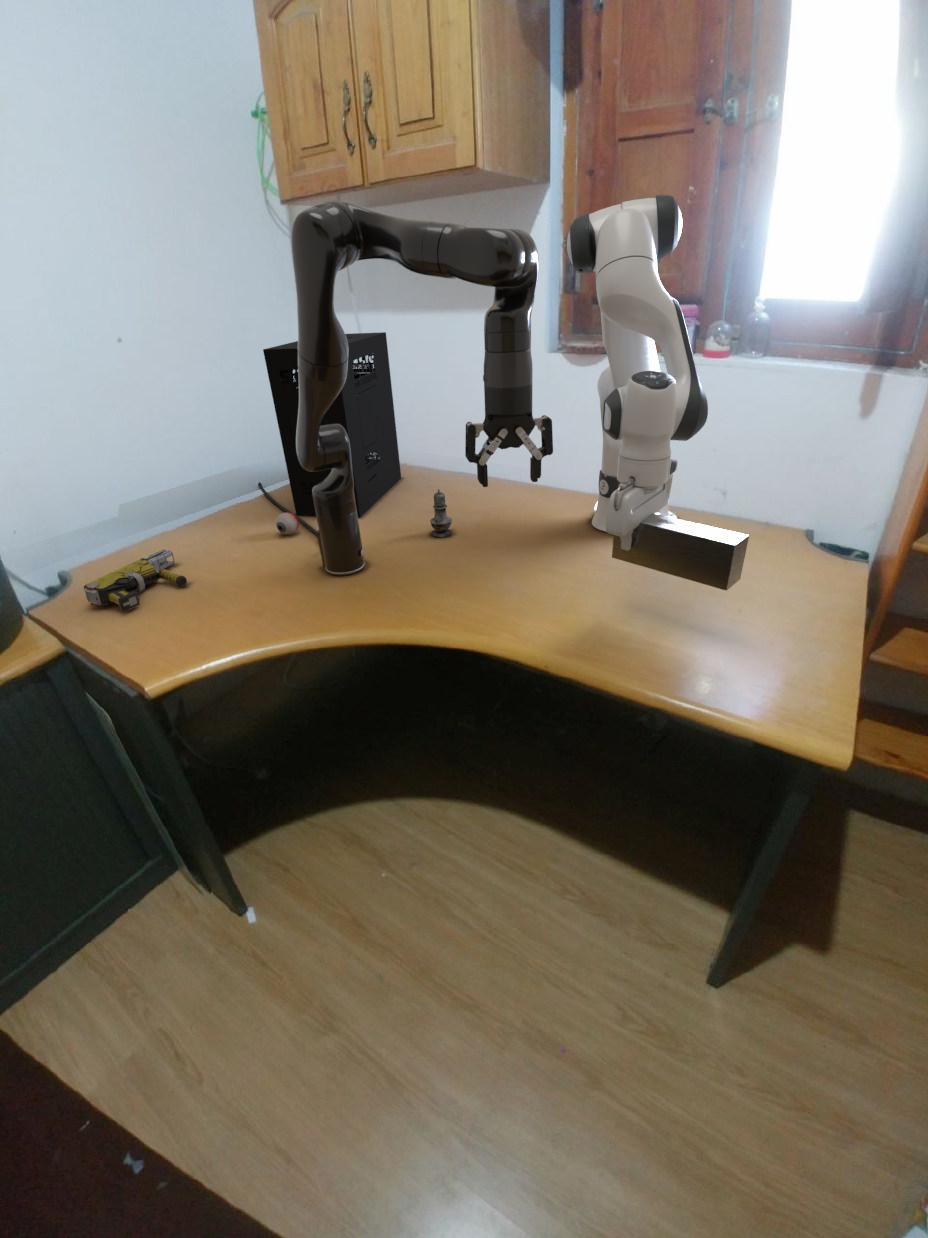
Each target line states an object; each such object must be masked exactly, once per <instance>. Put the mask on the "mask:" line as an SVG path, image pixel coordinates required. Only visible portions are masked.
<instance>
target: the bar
mask: <svg viewBox="0 0 928 1238" xmlns="http://www.w3.org/2000/svg"><path fill="white" fill-rule="evenodd" d="M631 536H632V539H633V547H632V548H631V549H630V550H628V551H627V550H623V549H621V538H620V536H616V535H613V538H612V539H613V540H612V551H611V558H612V559H614V560H618V561H623V562H626V563H628V564H633V565H636V566H639V567H644V568H647V569H650V570H653V571H657V572H661V573H664V574H667V575H671V576H674V577H677V578H681V579H684V580H689V581H691V582H695V583H698V584H701V585H706V586H708V587H712V588H716V589H718V590H722V591H726V592H727V591H728V590H729V589H731V587H733V586H734V585H736V584H737V583H738V582H739V581H741V577H742V573H743V568H744V563H745V557H746V554H747V548H748V543H749V539H750V535H749V534H745V533H742V532H737V531H733V530H727V529H723V528H721V527H720V528H718V527H715V526H710V525H707V524H702V523H698V522H694V521H693V522H692V521H689V520H684V519H679V518H677V519H675V518H671V517H667V516H662V515H658V514H652V515H650V516H649V517H647V518H646V519H645V520H643V521H642V522H640V525H639V526H637V527H636V528H635V529H633V533H632V534H631Z"/></svg>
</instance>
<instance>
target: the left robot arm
mask: <svg viewBox="0 0 928 1238" xmlns="http://www.w3.org/2000/svg"><path fill="white" fill-rule="evenodd" d="M290 233H291V234H290V242H291V243H290V244H291V255H292V257H291V258H292V265H293V274H294V283H295V292H296V311H297V313H296V315H297V341H298V370H297V372H298V380H299V407H298V418H297V429H296V451H297V456H298V460H299V463H300V465H301V466H302V468H303V469H305V470H306V471H309V472H317V471H322V470H327V469H332V470H331V472H330V473H329V475H328V476H327V477H326V478H325V479H323V480H322V481H321V482H319V483H318V484H316V485H315V486H314V487H313V489H312V495H313V501H314V506H315V511H316V516H315V517H316V521H317V527H318V529H317V530H316V529H315V528H314V527H312V526H311V525H310V524H309V523H307V521H304V520H303V519H302V518H300V517H299V515H296V513H295V514H294V512H292V511H290V510H289V509H287V508H286V507H285V506H283V505H281V504H280V503H279V501H277V500H275V499H274V498H273V497H272V496H271V495H270V494H269V493H268V492H267V490H265V488H264V487H263V484H262V482H258V483H257V486H258V487H259V490H260V491H261V492H262V493H263V495H264V496H265V497H266V498H267V499H268V500H269V501H270V502H272V504H274V505H275V506H276V507H277V508H279V509H280V510H282V511H283V512H284V513H285V512H288V513H292V514H294V515H295V516H296V517H297V519H298V521H299V524H302V525H303V526H304V527H305V528H307V529H308V530H309V531H310V532H312V534H314V535H315V536H316V537H317V542H318V546H319V553H320V558H321V563H322V568H323V569H325V571H326V573H327V574H330V575H333V576H347V575H352V574H356V573H358V572H360V571H362V570H363V569H365V566H366V562H365V561H366V560H365V557H364V554H365V545H363V544H362V543H363V541H362V538H361V537H362V536H361V530H360V523H359V517H358V515H357V509H356V502H355V495H354V478H353V470H352V459H351V449H350V442H349V438H348V435H347V432H346V430H345V429H344V427H343V426H342V425H341V424H339V423H331V424H325V425H321V421H322V419H323V417H324V415H325V413H326V412H327V410H328V409H329V407H330V406H331V404H332V403H333V402H334V400H335V399H336V398H337V396H338V395H339V393H340V392H341V390H342V388H343V386H344V384H345V382H346V379H347V371H348V356H349V348H348V341H347V338H346V335H345V334H346V332H345V331H344V328H343V326H342V325H341V322H340V321H339V319H338V316H337V314H336V311H335V286H336V285H335V284H336V279H337V278H336V277H337V274H338V272H340V271H342V270H343V269H346V268H349V267H350V266H352V265H353V264H355V263H356V262H358V261H364V260H375V259H376V260H377V259H378V260H379V259H380V260H387V261H391V262H394V263H396V264H397V265H399V266H401V267H403V268H404V269H405V270H408V271H409V272H411V273H414V274H417V275H421V276H426V277H433V278H440V279H446V280H461V281H463V282H466V283H467V282H468V283H469V284H470V283H471V284H475V285H479V286H483V287H489V288H494V292H493V302H492V305H491V307H490V308H488V309H487V310H486V311H485V314H484V318H483V319H484V320H483V338H484V341H483V343H484V359H483V375H482V381H483V387H484V388H483V389H484V390H483V391H484V395H483V396H484V420H483V422H482V423H481V422H480V423H479V422H477V423H473V422H472V421H467V422H466V423H465V447H464V450H465V452H464V454H465V455H464V456H465V458H466V460H467V461H468V462H469V463H473V464H476V474H477V475H476V476H477V481H478V482H479V484H480V485H481V486H482V487H483V488H488V487H489V477H488V473H489V472H488V465H487V462H489V460H490V458H491V457H492V456H493V455H494V454H495V452H496V451H497V449H500V450H506V449H509V448H514V449H517V448H518V449H519V448H521V446H525V448H526V449H527V451H528V452H529V453H530V454H531V457H530V460H529V464H530V465H529V470H530V472H529V473H530V474H529V475H530V476H529V479H530V481H531V482H532V483H537V482H538V480H539V479H541V478H542V477H541V476H542V461H543V458H545V457H546V456H551V455H552V454H554V438H553V420H552V418H550V417H549V416H548V415H545V414H543V415H541V417H535V418H534V416H533V358H532V321H531V319H532V312H533V307H534V304H535V298H536V297H535V296H536V290H537V284H538V278H539V267H540V266H539V265H540V263H539V253H538V249H537V244H536V242H535V240H534V238H533V237H532V236H531V235H530V234H529V233H528V232H527V231H524V230H522V229H517V228H516V229H515V228H494V227H472V226H471V227H469V226H465V225H463V224H458V223H452V222H443V221H434V220H433V221H432V220H431V221H430V220H419V219H409V218H403V217H398V216H392V215H388V214H385V213H380V212H377V211H373V210H370V209H368V208H365V207H362V206H359V205H356V204H352V203H350V202H346V201H342V200H336V199H330V200H327V201H324V202H321V203H319V204H316V205H314V206H310V207H308V208H305V209H304V210H302V211H301V212H299V213H297V215H296V216H295V218H294V220H293V222H292V225H291V230H290ZM535 427H537V430H538V431H539V432H540V435H541V436H540V437H541V447H537V445H536V443H535V442H533V440H532V438H530V437H529V436H530V435H531V433H532V432H533V430H534V429H535ZM481 432H484V433H485V435H486V436H487V438H486V440H485V441H484V443H483V444H482V447H481V449H480V451H479V452H478V453H476V440H477V439H478V438H479V437H480V435H481Z"/></svg>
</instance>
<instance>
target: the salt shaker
mask: <svg viewBox="0 0 928 1238" xmlns="http://www.w3.org/2000/svg"><path fill="white" fill-rule="evenodd" d="M432 508H433V509H434V516H433V517H432V518H431V519H430V520H429V523H430V525H431V527H432V528H433V531H432V532H431V535H432V536H433V537H437V538H444V537H448V536H450V535H452V533H453V531H452V530H451V529H450V528H451V525H452V522H453V519H452V517H450V516H448V514H447V508H448V505H447V504H446V495H445V493H443V492H441V490H440V489H439V488H438V489H437V492H435V493H434V494H433V506H432Z"/></svg>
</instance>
